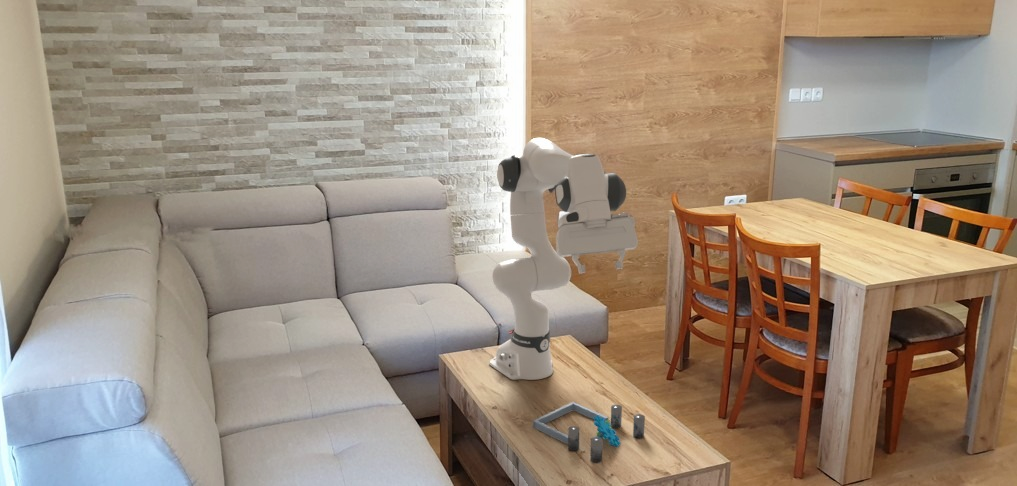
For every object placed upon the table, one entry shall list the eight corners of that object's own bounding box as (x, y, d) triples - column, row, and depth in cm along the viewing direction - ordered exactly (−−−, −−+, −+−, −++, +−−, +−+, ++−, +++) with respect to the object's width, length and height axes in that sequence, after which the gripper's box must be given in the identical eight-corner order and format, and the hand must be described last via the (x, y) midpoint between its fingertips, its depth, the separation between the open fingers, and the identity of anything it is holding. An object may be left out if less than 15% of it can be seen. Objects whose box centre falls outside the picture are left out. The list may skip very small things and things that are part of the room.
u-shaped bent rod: (532, 427, 221) (532, 420, 221) (572, 407, 233) (573, 401, 232) (567, 444, 212) (568, 437, 211) (608, 423, 223) (608, 417, 223)
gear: (620, 449, 206) (595, 421, 207) (604, 463, 208) (578, 434, 208) (623, 434, 217) (599, 407, 217) (608, 447, 218) (583, 420, 219)
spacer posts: (565, 448, 210) (565, 428, 208) (615, 422, 224) (615, 403, 222) (596, 464, 202) (597, 443, 201) (646, 436, 216) (647, 416, 215)
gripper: (630, 215, 198) (638, 268, 196) (551, 222, 196) (558, 277, 193) (636, 209, 192) (645, 264, 190) (555, 217, 190) (563, 273, 187)
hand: (600, 270), depth 192 cm, fingers open, 8 cm apart
